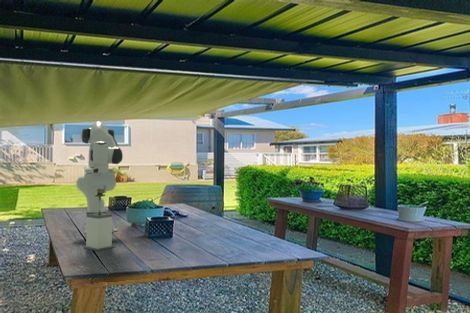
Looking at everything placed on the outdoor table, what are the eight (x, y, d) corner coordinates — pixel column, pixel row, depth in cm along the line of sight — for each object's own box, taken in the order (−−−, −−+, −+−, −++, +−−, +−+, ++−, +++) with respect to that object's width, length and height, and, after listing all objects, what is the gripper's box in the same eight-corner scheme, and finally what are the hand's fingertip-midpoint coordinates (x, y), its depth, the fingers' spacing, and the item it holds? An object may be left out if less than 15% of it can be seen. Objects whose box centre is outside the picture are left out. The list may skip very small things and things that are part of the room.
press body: (100, 244, 260) (101, 212, 259) (114, 247, 253) (114, 214, 253) (83, 248, 250) (84, 214, 249) (97, 251, 243) (98, 216, 243)
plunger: (100, 220, 256) (100, 188, 256) (108, 221, 252) (108, 189, 252) (90, 221, 250) (91, 189, 250) (98, 223, 246) (99, 189, 246)
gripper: (110, 168, 261) (110, 191, 261) (82, 169, 244) (81, 194, 244) (118, 169, 258) (117, 192, 258) (89, 170, 241) (89, 195, 241)
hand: (100, 193), depth 251 cm, fingers open, 4 cm apart
